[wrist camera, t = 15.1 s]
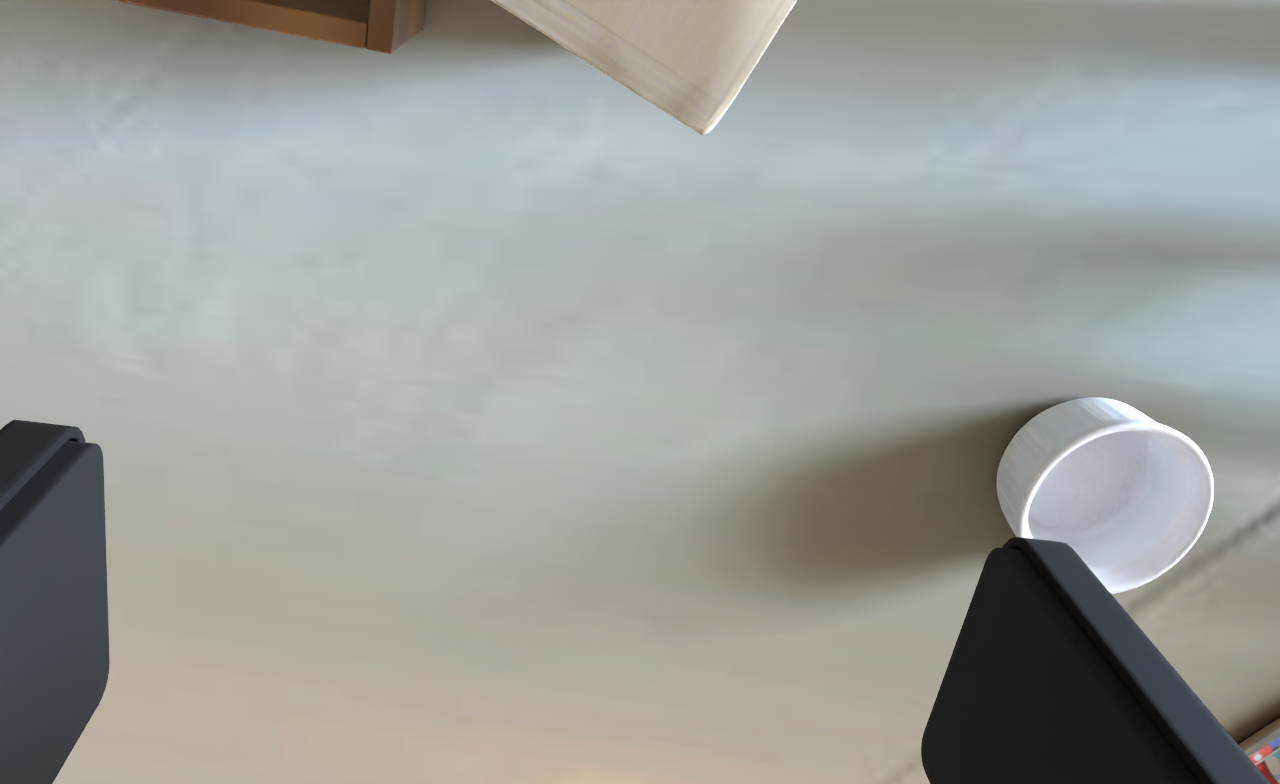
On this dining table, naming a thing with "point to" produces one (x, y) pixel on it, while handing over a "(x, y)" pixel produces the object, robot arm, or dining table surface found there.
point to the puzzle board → (1265, 751)
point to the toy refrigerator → (665, 46)
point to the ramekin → (1107, 488)
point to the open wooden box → (313, 18)
